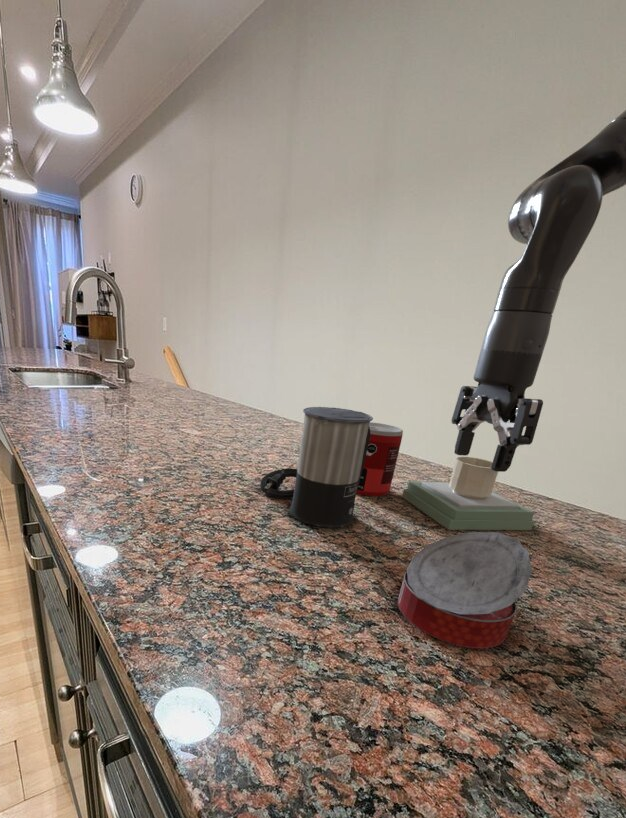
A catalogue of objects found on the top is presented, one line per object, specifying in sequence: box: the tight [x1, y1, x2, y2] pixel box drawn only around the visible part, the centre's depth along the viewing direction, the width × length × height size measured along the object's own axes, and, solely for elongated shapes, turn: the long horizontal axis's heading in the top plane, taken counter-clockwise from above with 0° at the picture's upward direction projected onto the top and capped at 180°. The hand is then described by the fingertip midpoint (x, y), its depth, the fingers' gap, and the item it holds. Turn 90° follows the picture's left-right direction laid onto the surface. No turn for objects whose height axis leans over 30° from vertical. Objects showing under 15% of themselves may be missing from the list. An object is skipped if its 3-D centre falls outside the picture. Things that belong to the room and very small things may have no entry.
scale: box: [401, 480, 535, 531], centre depth 70 cm, size 14×13×3 cm
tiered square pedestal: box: [421, 481, 520, 509], centre depth 70 cm, size 10×10×2 cm
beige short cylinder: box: [449, 456, 499, 499], centre depth 68 cm, size 6×6×5 cm
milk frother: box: [259, 406, 374, 529], centre depth 64 cm, size 14×16×15 cm
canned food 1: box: [356, 421, 404, 497], centre depth 75 cm, size 8×8×11 cm
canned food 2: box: [397, 531, 533, 649], centre depth 42 cm, size 11×10×10 cm
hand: (478, 462), depth 68 cm, fingers open, 8 cm apart
